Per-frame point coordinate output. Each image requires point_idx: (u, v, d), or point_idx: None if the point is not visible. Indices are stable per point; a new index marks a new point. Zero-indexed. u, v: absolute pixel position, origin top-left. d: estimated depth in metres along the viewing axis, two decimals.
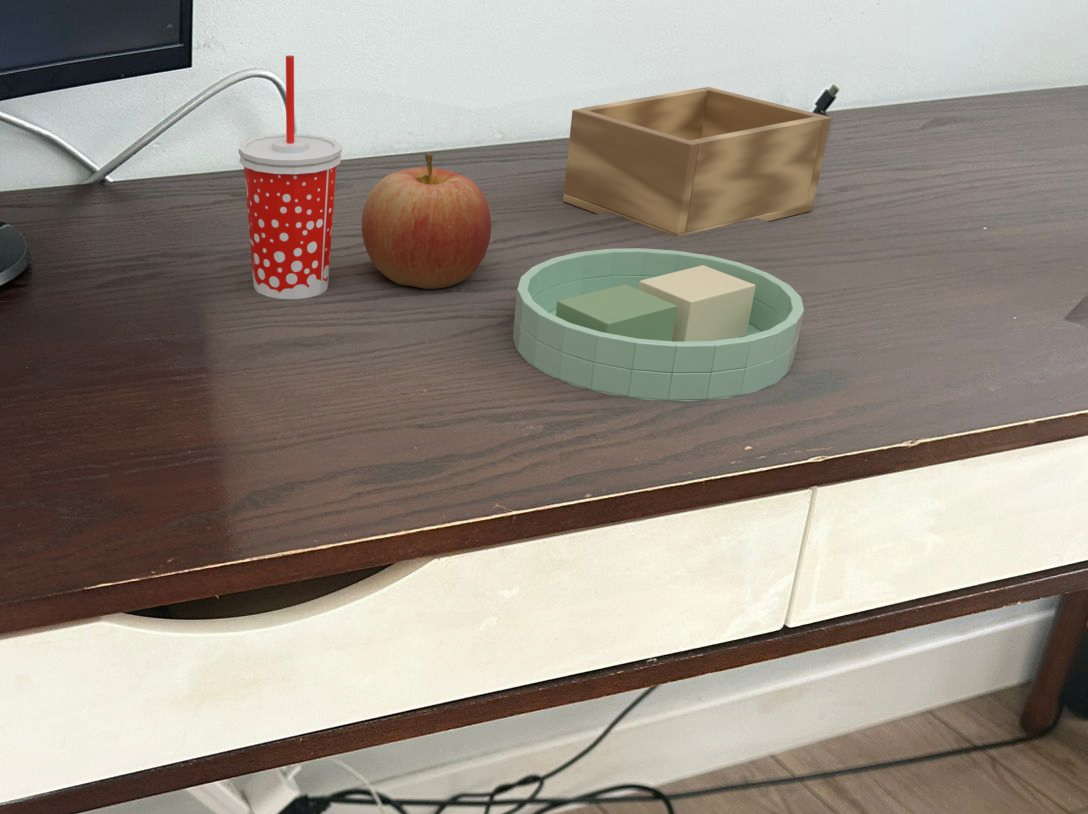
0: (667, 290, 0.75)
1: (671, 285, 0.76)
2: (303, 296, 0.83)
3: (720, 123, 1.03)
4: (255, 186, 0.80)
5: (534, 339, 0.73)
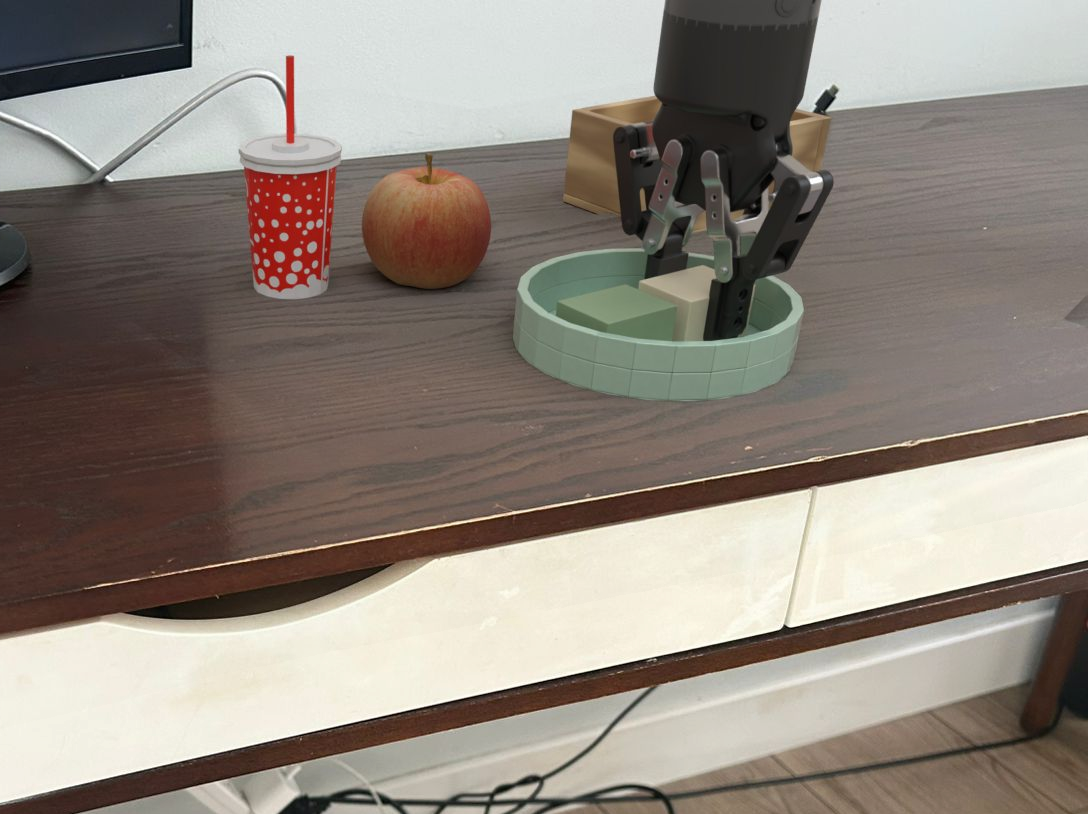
0: (667, 290, 0.75)
1: (670, 285, 0.76)
2: (303, 296, 0.83)
3: None
4: (255, 185, 0.80)
5: (534, 339, 0.73)
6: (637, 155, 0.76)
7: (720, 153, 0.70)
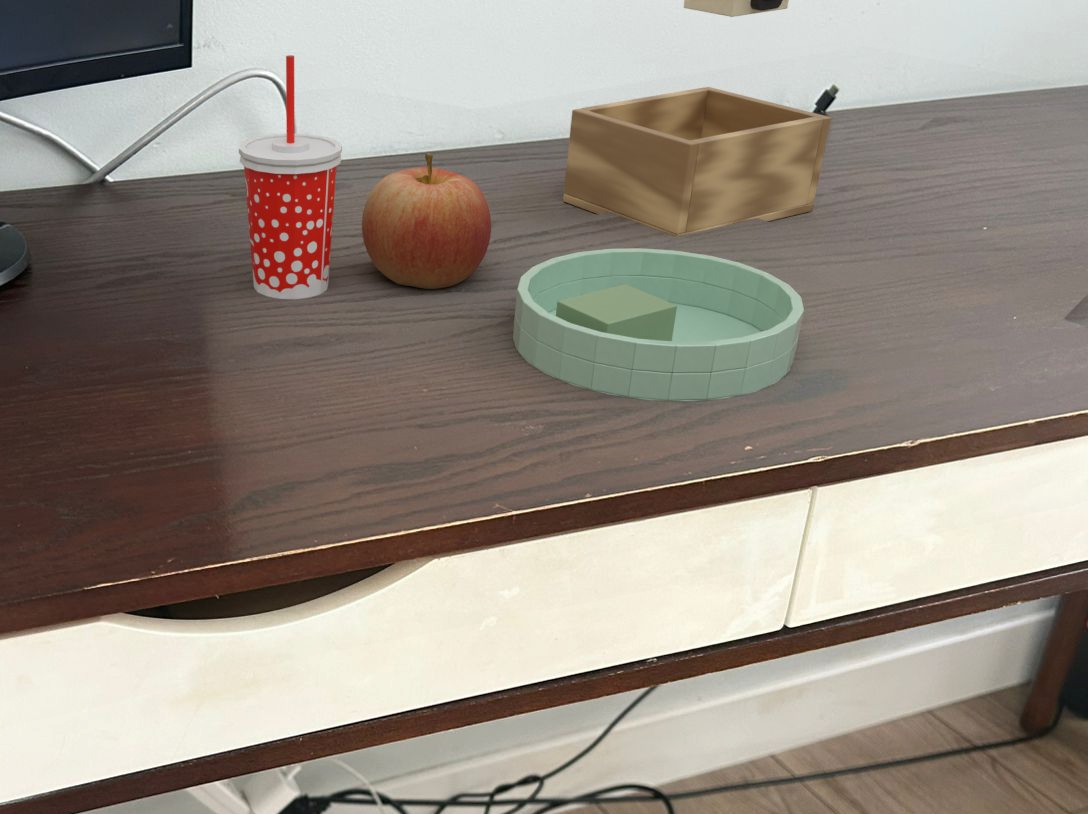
0: None
1: None
2: (303, 296, 0.83)
3: (720, 123, 1.03)
4: (255, 185, 0.80)
5: (534, 339, 0.73)
6: None
7: None
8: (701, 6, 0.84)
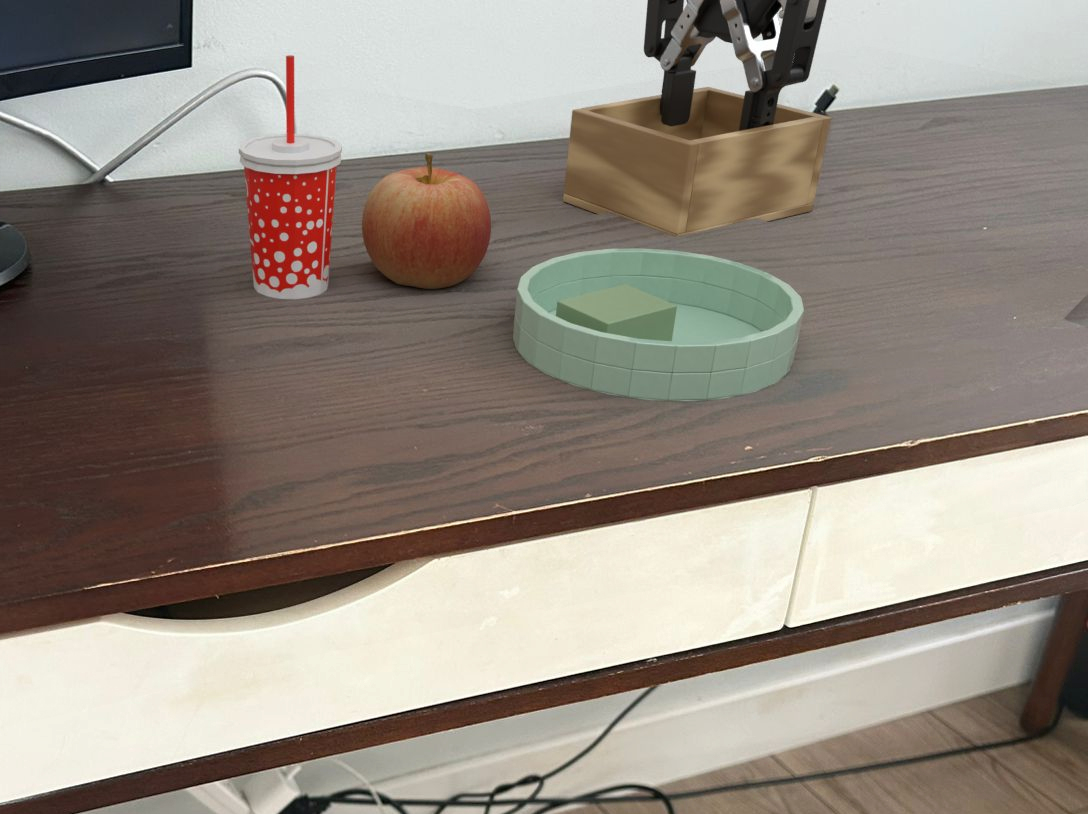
0: None
1: None
2: (303, 296, 0.83)
3: (720, 123, 1.03)
4: (255, 185, 0.80)
5: (534, 339, 0.73)
6: None
7: None
8: None
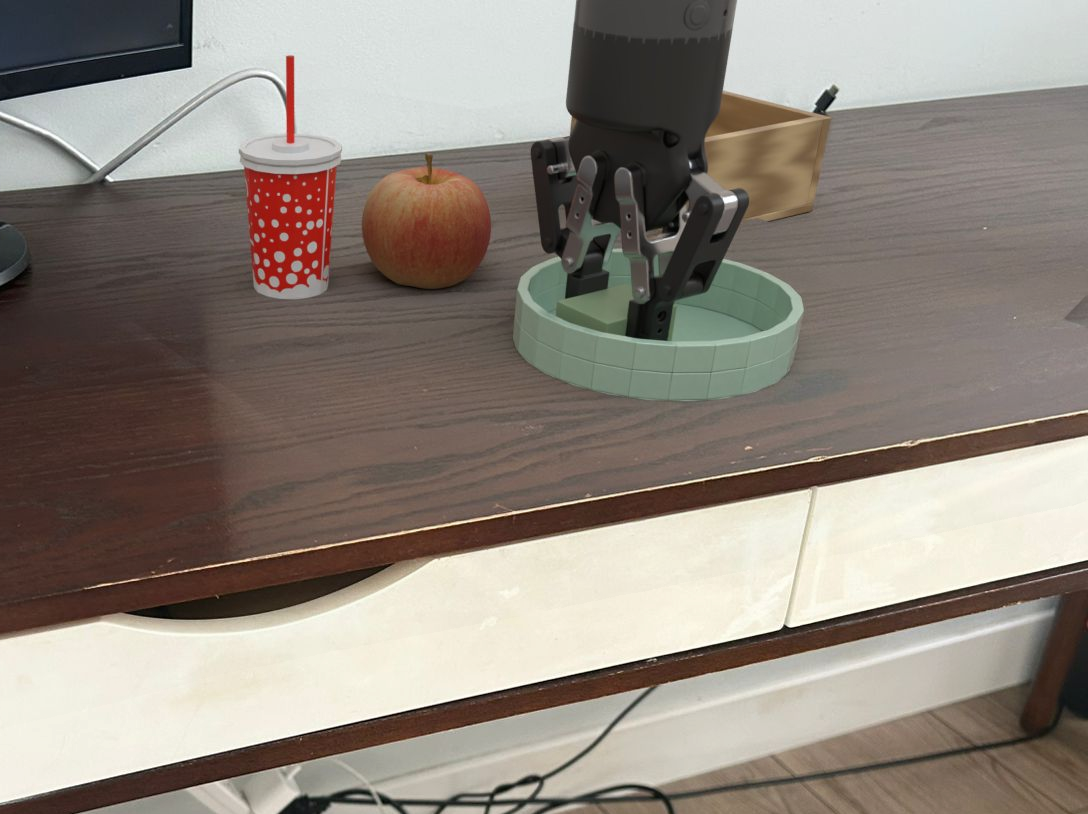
0: None
1: None
2: (303, 296, 0.83)
3: (720, 123, 1.03)
4: (255, 185, 0.80)
5: (534, 339, 0.73)
6: (554, 171, 0.73)
7: (633, 170, 0.68)
8: None
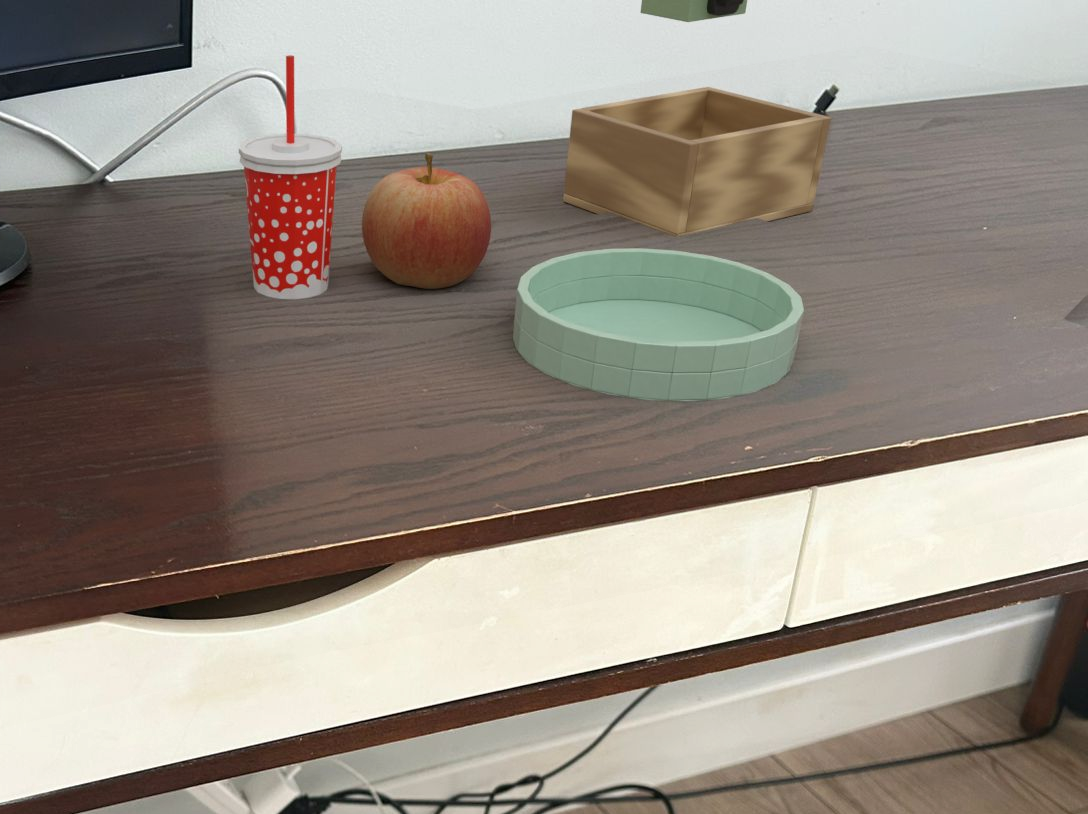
0: None
1: None
2: (303, 296, 0.83)
3: (720, 123, 1.03)
4: (255, 185, 0.80)
5: (534, 339, 0.73)
6: None
7: None
8: None
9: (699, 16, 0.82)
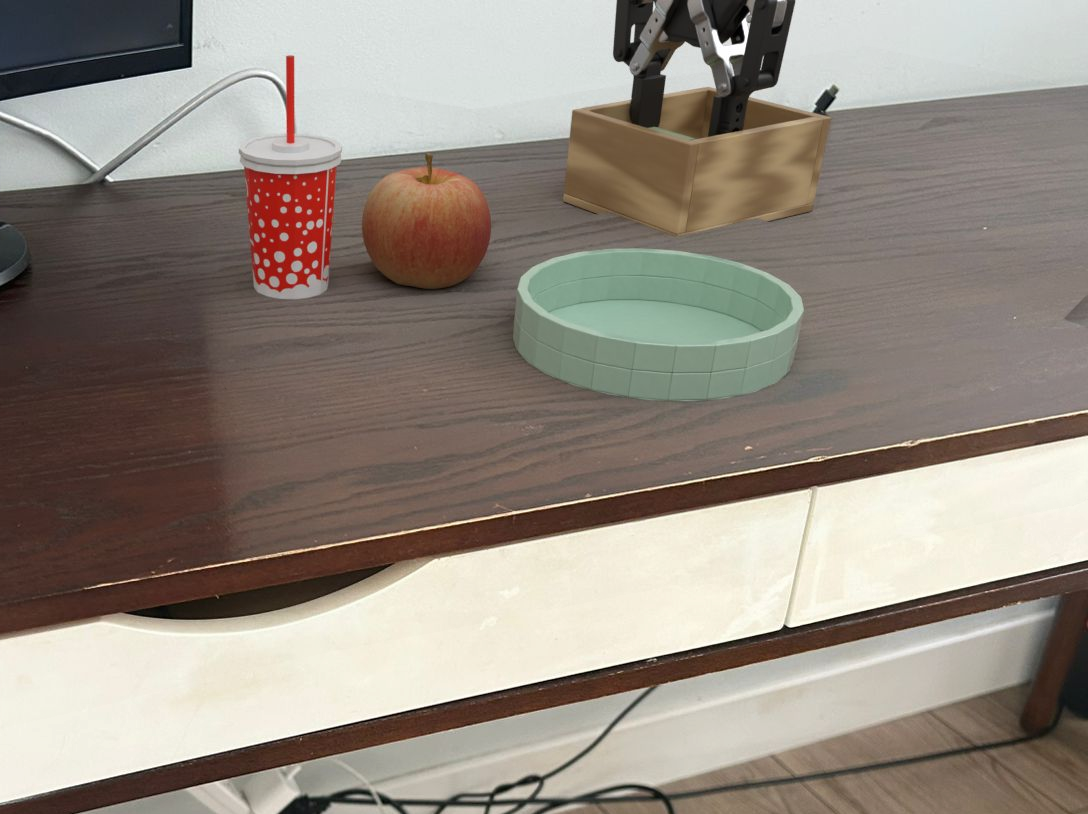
0: None
1: None
2: (303, 296, 0.83)
3: None
4: (255, 185, 0.80)
5: (534, 339, 0.73)
6: None
7: None
8: None
9: None
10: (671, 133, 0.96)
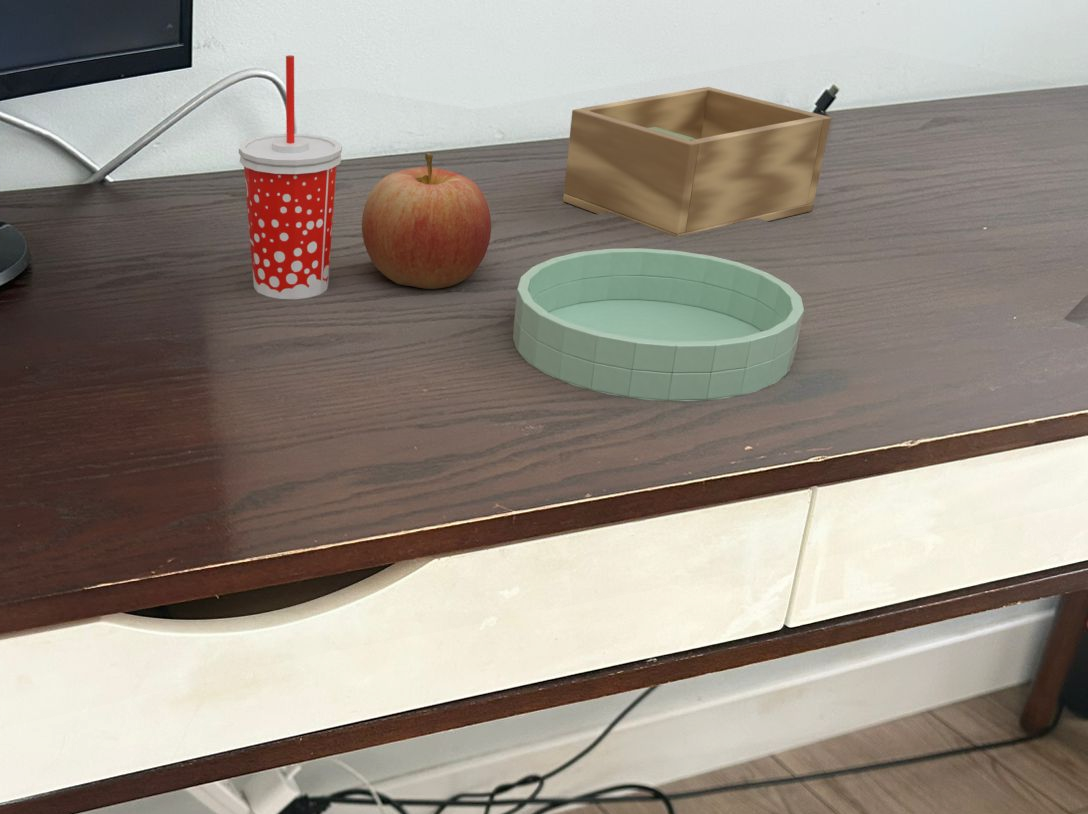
0: None
1: None
2: (303, 296, 0.83)
3: (720, 123, 1.03)
4: (255, 185, 0.80)
5: (534, 339, 0.73)
6: None
7: None
8: None
9: None
10: (671, 133, 0.96)
